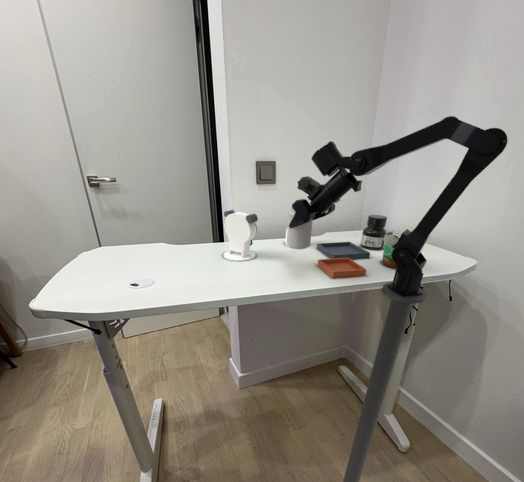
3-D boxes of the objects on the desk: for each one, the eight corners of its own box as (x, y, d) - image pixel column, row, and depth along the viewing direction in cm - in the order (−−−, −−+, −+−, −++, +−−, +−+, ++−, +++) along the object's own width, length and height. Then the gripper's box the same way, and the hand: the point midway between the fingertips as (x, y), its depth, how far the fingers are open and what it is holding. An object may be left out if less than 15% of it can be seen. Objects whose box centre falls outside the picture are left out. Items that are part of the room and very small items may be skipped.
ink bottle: (355, 246, 117) (360, 216, 111) (364, 242, 123) (370, 213, 117) (378, 252, 111) (385, 220, 106) (387, 247, 117) (394, 217, 111)
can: (287, 250, 89) (289, 209, 84) (285, 243, 96) (287, 205, 90) (311, 250, 89) (315, 209, 84) (308, 243, 96) (311, 205, 90)
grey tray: (369, 258, 105) (370, 252, 104) (333, 260, 101) (334, 255, 100) (349, 246, 117) (350, 241, 116) (316, 248, 113) (317, 243, 113)
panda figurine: (263, 254, 105) (264, 212, 98) (244, 263, 97) (244, 217, 90) (236, 248, 111) (236, 208, 104) (217, 256, 102) (214, 212, 95)
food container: (370, 259, 103) (376, 231, 98) (385, 258, 105) (391, 230, 100) (394, 272, 93) (402, 241, 88) (410, 270, 94) (418, 240, 90)
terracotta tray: (365, 275, 90) (366, 269, 89) (332, 278, 87) (333, 272, 86) (347, 263, 99) (348, 257, 98) (317, 265, 97) (317, 259, 96)
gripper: (330, 165, 87) (295, 200, 97) (300, 167, 73) (264, 208, 84) (352, 195, 86) (314, 227, 97) (326, 203, 73) (286, 239, 83)
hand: (295, 224), depth 90 cm, fingers closed on can, 7 cm apart
